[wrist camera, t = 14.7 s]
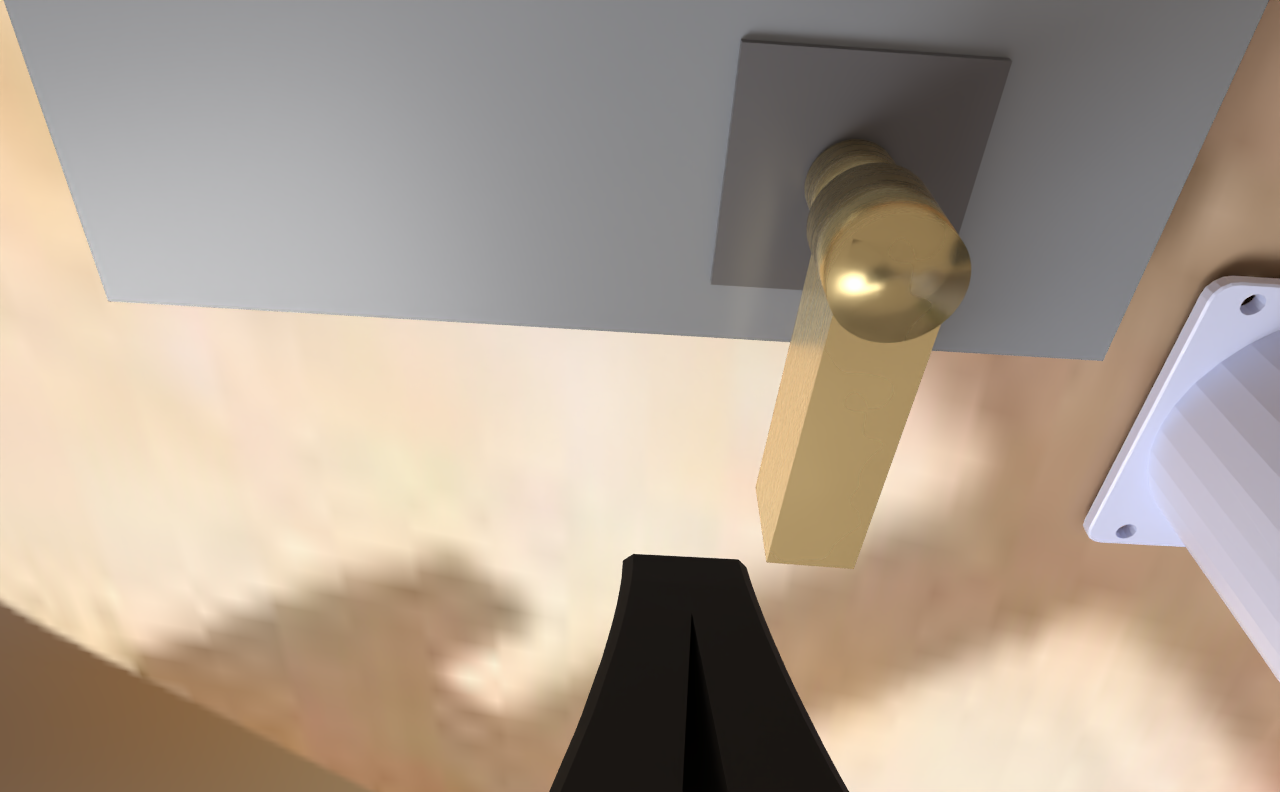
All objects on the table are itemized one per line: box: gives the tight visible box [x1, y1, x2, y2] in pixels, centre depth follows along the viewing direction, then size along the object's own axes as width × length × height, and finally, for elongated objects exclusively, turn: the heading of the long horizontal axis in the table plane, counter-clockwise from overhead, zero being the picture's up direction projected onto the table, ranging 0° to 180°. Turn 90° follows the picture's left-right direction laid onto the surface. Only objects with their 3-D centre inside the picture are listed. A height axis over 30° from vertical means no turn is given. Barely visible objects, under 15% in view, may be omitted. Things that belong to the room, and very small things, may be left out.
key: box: [756, 139, 971, 569], centre depth 15 cm, size 7×2×4 cm, turn 174°
